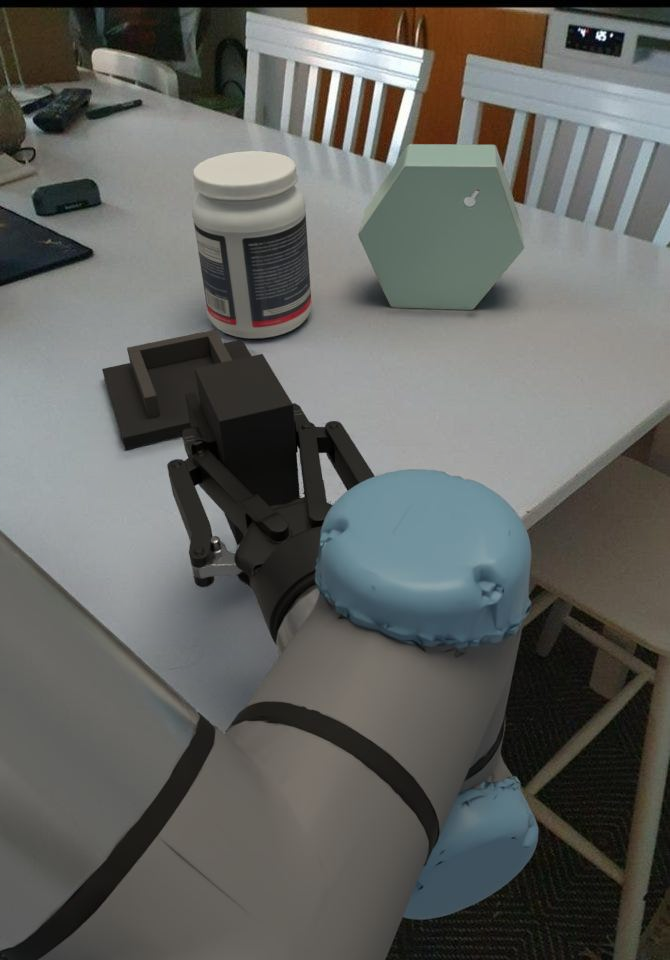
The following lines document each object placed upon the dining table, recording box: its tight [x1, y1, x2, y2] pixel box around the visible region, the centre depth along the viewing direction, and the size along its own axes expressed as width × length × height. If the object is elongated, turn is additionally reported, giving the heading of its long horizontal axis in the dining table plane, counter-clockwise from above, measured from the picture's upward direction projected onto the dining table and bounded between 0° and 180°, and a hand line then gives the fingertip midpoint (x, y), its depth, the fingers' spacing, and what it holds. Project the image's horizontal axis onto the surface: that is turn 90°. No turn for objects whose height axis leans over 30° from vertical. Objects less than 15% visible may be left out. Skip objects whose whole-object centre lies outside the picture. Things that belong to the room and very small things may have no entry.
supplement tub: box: [191, 150, 313, 339], centre depth 94 cm, size 13×13×18 cm
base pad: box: [101, 329, 252, 450], centre depth 86 cm, size 16×14×4 cm
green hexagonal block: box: [357, 143, 525, 311], centre depth 98 cm, size 17×8×21 cm, turn 81°
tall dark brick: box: [195, 353, 301, 546], centre depth 58 cm, size 5×7×11 cm
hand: (229, 400), depth 61 cm, fingers closed on tall dark brick, 5 cm apart
